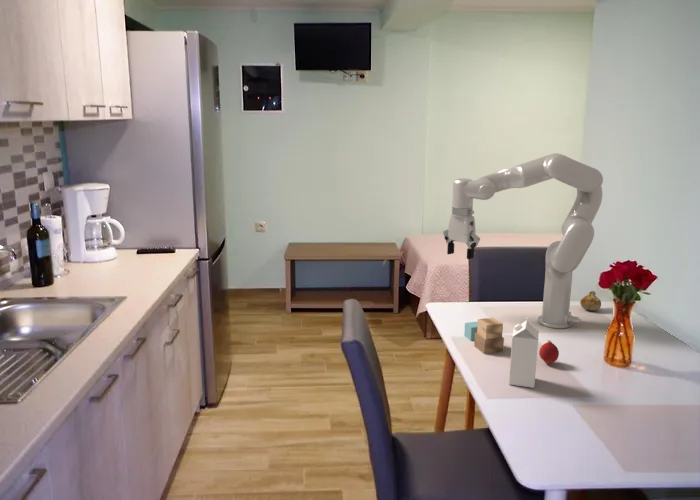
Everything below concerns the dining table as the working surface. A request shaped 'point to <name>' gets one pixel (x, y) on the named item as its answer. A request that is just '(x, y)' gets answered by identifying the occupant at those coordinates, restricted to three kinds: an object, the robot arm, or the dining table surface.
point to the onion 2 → (590, 302)
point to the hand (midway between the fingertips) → (460, 256)
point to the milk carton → (523, 355)
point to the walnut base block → (488, 344)
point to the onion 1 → (549, 352)
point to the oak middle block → (489, 328)
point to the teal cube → (470, 330)
